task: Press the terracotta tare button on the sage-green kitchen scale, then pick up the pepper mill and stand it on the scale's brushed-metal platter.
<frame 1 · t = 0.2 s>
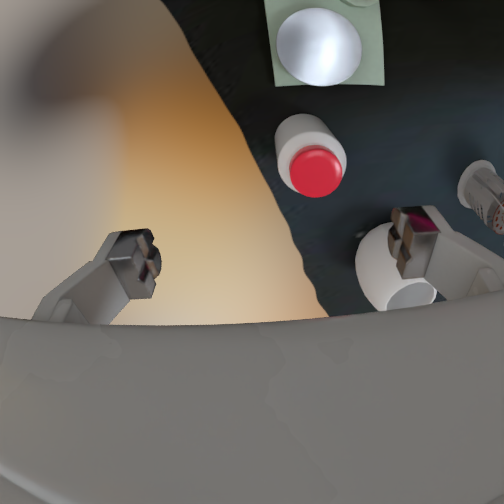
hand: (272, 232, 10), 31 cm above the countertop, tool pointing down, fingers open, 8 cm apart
scale top: (319, 46, 27), resting on scale
cup: (384, 243, 48), on the countertop
scale: (324, 24, 27), on the countertop
french press: (475, 181, 39), on the countertop
pill bottle: (302, 140, 38), on the countertop
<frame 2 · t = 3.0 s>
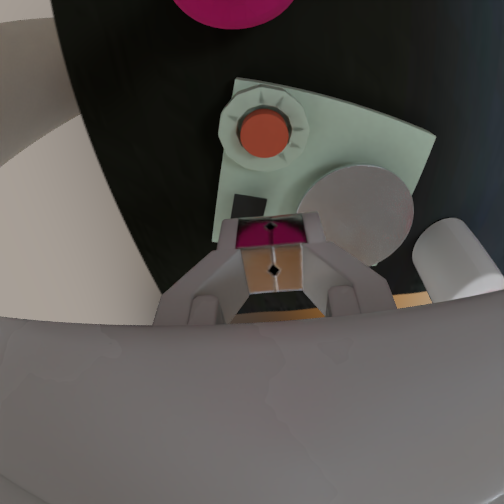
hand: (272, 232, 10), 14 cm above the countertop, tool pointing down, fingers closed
scale top: (356, 221, 23), resting on scale
tare button: (264, 132, 18), point 3 cm above the countertop, slide at 0.1 cm
scale: (320, 179, 24), on the countertop
pill bottle: (441, 245, 28), on the countertop
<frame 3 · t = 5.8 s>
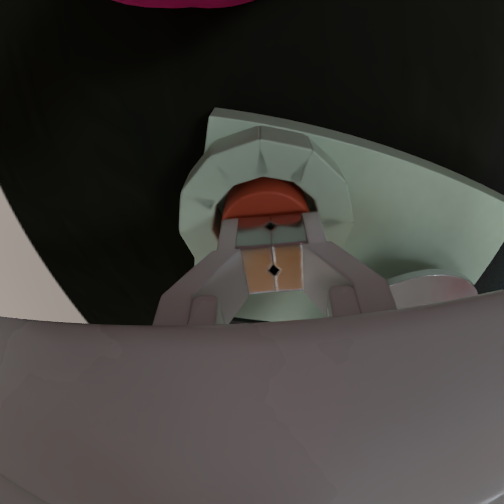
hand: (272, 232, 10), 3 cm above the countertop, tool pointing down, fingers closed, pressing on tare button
scale top: (398, 336, 14), resting on scale
tare button: (266, 219, 10), point 3 cm above the countertop, slide at -0.7 cm, touching gripper
scale: (350, 271, 15), on the countertop
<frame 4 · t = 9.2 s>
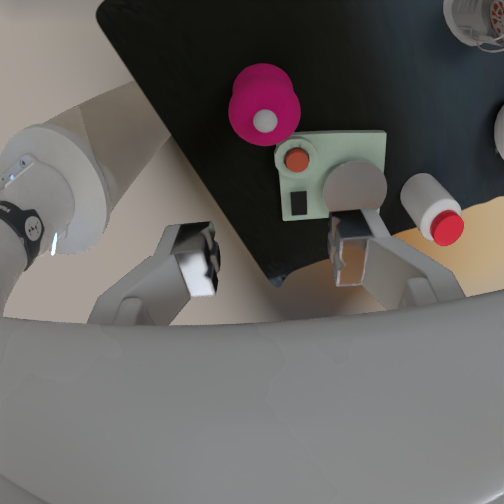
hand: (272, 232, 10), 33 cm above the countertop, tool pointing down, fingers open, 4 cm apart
scale top: (355, 190, 41), resting on scale
tare button: (296, 160, 38), point 3 cm above the countertop, slide at 0.1 cm
scale: (331, 173, 43), on the countertop
pepper mill: (262, 86, 35), on the countertop
french press: (464, 20, 24), on the countertop
pill bottle: (419, 192, 44), on the countertop
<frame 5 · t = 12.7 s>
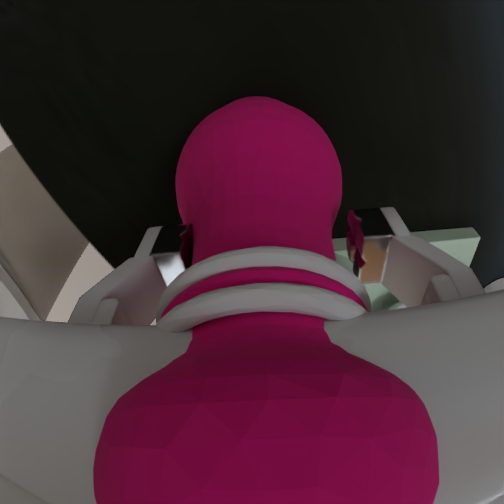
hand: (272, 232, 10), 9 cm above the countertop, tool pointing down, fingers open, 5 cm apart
scale: (377, 298, 24), on the countertop
pepper mill: (256, 146, 17), on the countertop, touching arm, gripper
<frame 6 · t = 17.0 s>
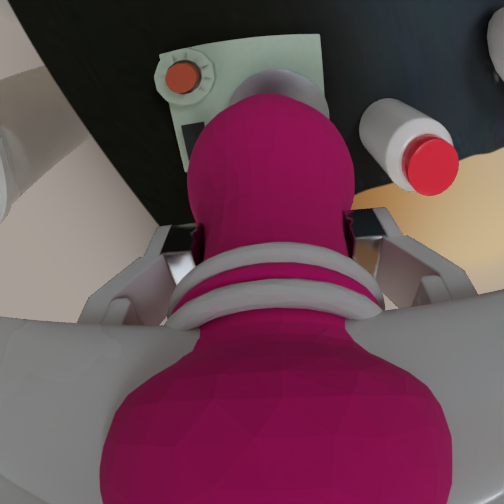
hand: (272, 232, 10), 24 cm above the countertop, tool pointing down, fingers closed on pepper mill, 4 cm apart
scale top: (278, 117, 27), resting on scale
tare button: (182, 77, 24), point 3 cm above the countertop, slide at 0.1 cm
scale: (247, 100, 29), on the countertop
pepper mill: (268, 144, 16), point 16 cm above the countertop, touching arm, gripper
pill bottle: (388, 128, 30), on the countertop
when the fingers open (12 cm above the countertop, at t = 20.3 s): pepper mill stays where it is, resting on scale top.
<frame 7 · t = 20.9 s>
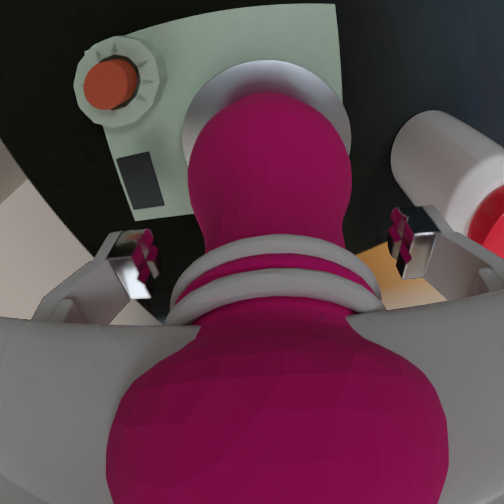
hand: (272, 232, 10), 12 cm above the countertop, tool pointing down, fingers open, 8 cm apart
scale top: (267, 141, 17), resting on scale
tare button: (110, 83, 14), point 3 cm above the countertop, slide at 0.1 cm
scale: (219, 112, 18), on the countertop
pepper mill: (267, 142, 17), point 3 cm above the countertop, touching scale top
pill bottle: (431, 155, 20), on the countertop
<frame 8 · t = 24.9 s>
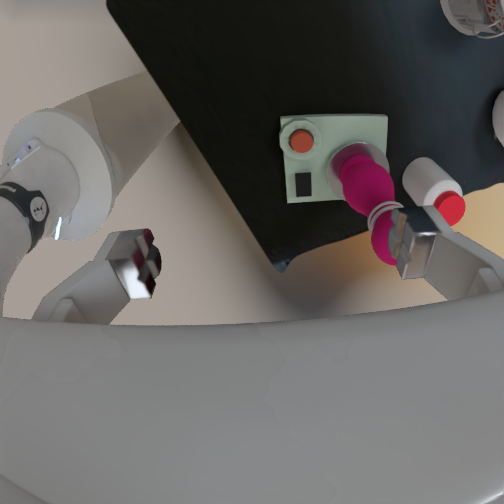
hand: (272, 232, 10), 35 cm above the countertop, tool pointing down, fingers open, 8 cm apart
scale top: (358, 172, 42), resting on scale
tare button: (301, 141, 39), point 3 cm above the countertop, slide at 0.1 cm
scale: (335, 156, 43), on the countertop
pepper mill: (358, 173, 41), point 3 cm above the countertop, touching scale top
french press: (460, 11, 24), on the countertop
pill bottle: (420, 176, 44), on the countertop
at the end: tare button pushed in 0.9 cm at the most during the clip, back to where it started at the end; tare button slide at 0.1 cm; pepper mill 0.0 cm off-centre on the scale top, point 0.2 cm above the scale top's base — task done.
